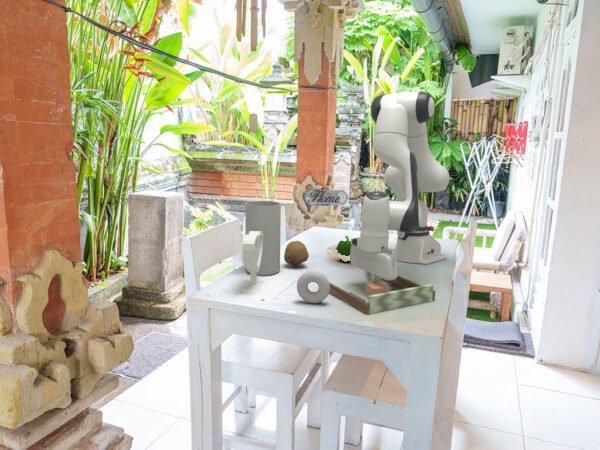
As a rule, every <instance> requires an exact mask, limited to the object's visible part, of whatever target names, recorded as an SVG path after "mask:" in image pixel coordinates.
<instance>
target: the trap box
mask: <svg viewBox="0 0 600 450" xmlns="http://www.w3.org/2000/svg"><path fill="white" fill-rule="evenodd" d="M380 279H382V280H384V281H386V282H388V283H391V284H390V285H389V284H388V286H390V287H391V292H386V293H380V294H375V295H370V296H368V297H367V300H366V299H365V298H364V299H363V298H362V297H360V296H358V295H357V294H355V293H353V292H348V291H347V290H345V289H342V288H341V287H339V286H338V285H335V284H334V283H331V282H330V281H329V284H330V291H329V294H330V295H332V296H333V297H335V298H336V299H338V300H339V301H341V302H344V303H345V304H347V305H349V306H351V307H353V308H354V309H356V310H358V311H360V312H362V313H363V314H364V315H371V314H372V315H373V314H376V313H380V312H381V313H382V312H385V311H390V310H395V309H400V308H403V307H409V305H410V306H414V305H413V304H415V305H418V304H417V303H419V304H423V303H422V302H424V303H427V302H426V301H429V302H431V301H430V300H434V301H436V300H435V299H436V290H434V284H431V283H430V284H429V283H428V284H424V285H421V284H419V283H416V282H415V281H412V280H410V279H406V278H405V277H402V276H400V275H397V278H396V279H394V280H385V279H383V278H381V277H380ZM329 294H328V295H329Z"/></svg>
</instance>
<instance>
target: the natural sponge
mask: <svg viewBox="0 0 600 450" xmlns="http://www.w3.org/2000/svg"><path fill="white" fill-rule="evenodd" d="M309 257H310V256H309V252H308V249H307V247H306V245H305V244H304V243H303V242H302V241H300V240H291V241H290V242H289V243H288V244H287V245H286V247H285V249H284V255H283V258H284V262H285V263H287V264H289V265H290V266H292V267H298V266H300V265H301V264H303V263H305V262H306V261H307V260H309Z"/></svg>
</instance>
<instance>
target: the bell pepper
mask: <svg viewBox="0 0 600 450" xmlns="http://www.w3.org/2000/svg"><path fill="white" fill-rule="evenodd" d="M344 238H345V239H346V240H340V241H339V242H338V243H337V246H336V249H337V250H336V252H337V251H338V252H337V254H338V253H340V254H341V255H345V256H349V255H350V250H351V246H352V245H351V240H350V237H349V236H348V235H345V236H344Z"/></svg>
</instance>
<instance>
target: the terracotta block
mask: <svg viewBox="0 0 600 450" xmlns="http://www.w3.org/2000/svg"><path fill="white" fill-rule="evenodd" d="M391 291H392V290H391V287H390V286H389V284H387V283H386V282H384V281H377V282H367V281H366V282H365V292H364V295H365V296H366V297H367V298H368V296H370V295H375V294H380V293H386V292H391Z"/></svg>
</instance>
